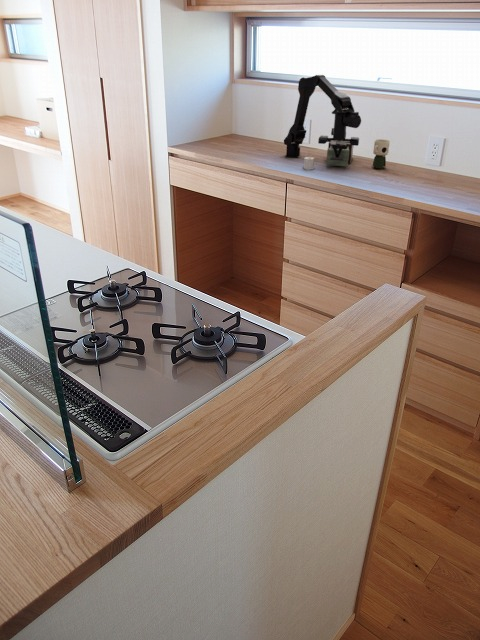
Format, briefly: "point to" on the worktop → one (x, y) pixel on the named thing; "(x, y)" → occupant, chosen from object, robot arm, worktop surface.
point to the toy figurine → (380, 153)
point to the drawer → (340, 160)
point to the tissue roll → (308, 163)
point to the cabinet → (349, 150)
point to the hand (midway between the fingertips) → (337, 159)
